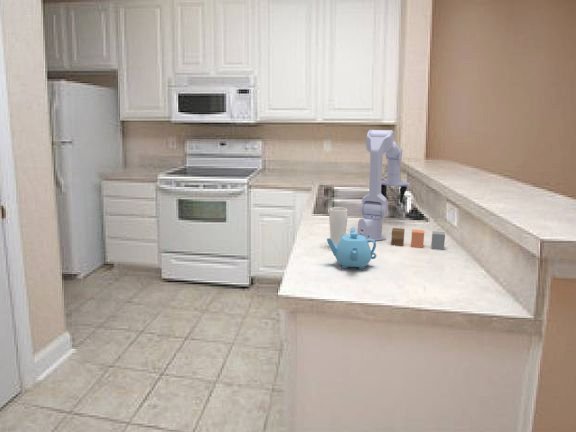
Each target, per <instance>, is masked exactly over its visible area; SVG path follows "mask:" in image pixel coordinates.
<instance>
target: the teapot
mask: <svg viewBox="0 0 576 432" xmlns="http://www.w3.org/2000/svg"><path fill="white" fill-rule="evenodd" d="M326 241H327V244H328V246H329V248H330V250H331V252H332V254H333V256H334V257H335V259H336V261H337V263H338V264H339V265H341V269H342V270H347V269H349V267H355V268H356V267H357V269H358V270H361V271H363V270H366V268H365V267H366V266H367V265H369V263H370V262H371V260H375V259H376V258H377V253H376V252H375V249H376V247H377V241H374V240H372V239H366V238H365V237H364V236H362V235H358V232H356V231H355V228H354V227H353V226H351V227H350V233H349V234H345V235H343V236H342V237H341V239H340V241H339V243H338V245H337V246H336V245H335V244H334V242H333V241H332V239H331V238H330V237H329V238H326ZM368 241H370V242H371V243H373V246H372V249H371V247H370V245H369V242H368Z"/></svg>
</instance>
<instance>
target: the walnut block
mask: <svg viewBox="0 0 576 432" xmlns="http://www.w3.org/2000/svg"><path fill="white" fill-rule="evenodd" d="M390 238H391V240H390V242H391V243H390V246H394V245H395V246H396V247H403V246H404V243H405V242H404V241H405V228H401V227H400V228H399V227H398V228H397V227H392V229H391V237H390Z"/></svg>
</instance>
